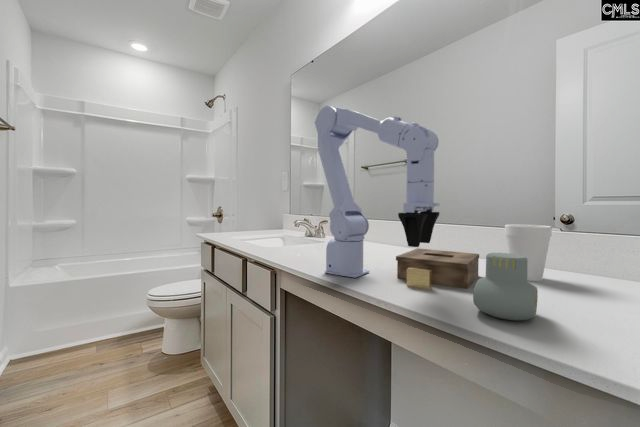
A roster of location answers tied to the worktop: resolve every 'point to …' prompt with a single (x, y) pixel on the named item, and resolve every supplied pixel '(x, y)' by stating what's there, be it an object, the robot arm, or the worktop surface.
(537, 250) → the foam cup
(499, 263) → the air freshener
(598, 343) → the worktop surface
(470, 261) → the money box
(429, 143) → the robot arm
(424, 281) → the yellow block
